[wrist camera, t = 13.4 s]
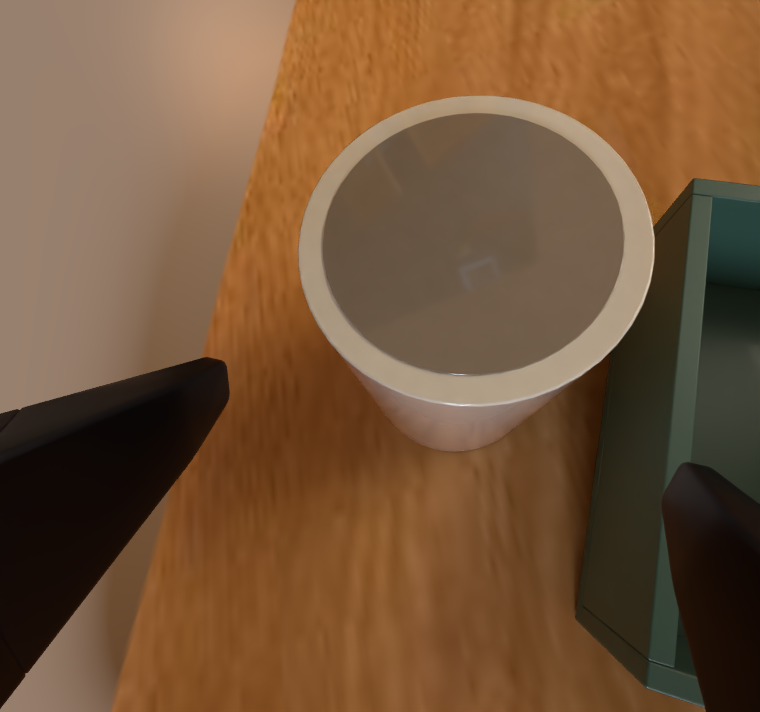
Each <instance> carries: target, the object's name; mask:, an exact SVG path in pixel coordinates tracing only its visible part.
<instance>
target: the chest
mask: <svg viewBox="0 0 760 712" xmlns="http://www.w3.org/2000/svg"><path fill="white" fill-rule="evenodd" d="M653 230H654V237H655V256H654V266H653V272H652V278H651V283H650V286H649V289H648V292H647V295H646V298H645V301H644V304H643V306H642V308H641V310H640V311H639V313H638V315H637V317H636V319H635V321H634V323H633V325H632V326H631V327H630V329H629V330H628V331H627V333H626V334H625V335H624V337H623V338H622V339H621V341H620V342H619V343H618V345H617V346H616V347H615V348H614V349H613V350H612V351H611V356H610V363H609V371H608V378H607V386H606V393H605V401H604V408H603V415H602V423H601V430H600V438H599V445H598V453H597V460H596V468H595V475H594V482H593V490H592V497H591V505H590V512H589V520H588V527H587V535H586V542H585V549H584V557H583V564H582V572H581V579H580V587H579V594H578V602H577V609H576V616H575V618H576V620H577V621H578V622H579V623H580V624H581V625H582V626H583V627H584V628H585V629H586V630H587V631H588V632H589V633H590V634H591V635H592V636H593V637H594V638H595V639H596V640H597V641H598V642H599V643H600V644H601V645H602V646H604V647H605V648H606V649H607V650H608V651H609V652H610V653H611V654H612V655H613V656H614V657H615V658H616V659H617V660H618V661H619V662H620V663H621V664H622V665H623V666H624V667H625V668H626V669H627V670H628V671H629V672H630V673H631V674H632V675H633V676H634V677H635V678H636V679H637V680H638V681H639V682H640V683H641V684H642V685H643V686H644V687H646V688H647V689H650V690H653V691H656V692H659V693H662V694H665V695H668V696H671V697H674V698H677V699H680V700H683V701H686V702H689V703H692V704H695V705H698V706H701V707H704V708H705V706H704V702H703V698H702V694H701V691H700V687H699V683H698V679H697V676H696V672H695V668H694V664H693V661H692V657H691V653H690V649H689V646H688V642H687V638H686V634H685V631H684V627H683V623H682V619H681V616H680V612H679V608H678V604H677V600H676V596H675V592H674V588H673V582H672V576H671V570H670V563H669V556H668V549H667V542H666V535H665V528H664V521H663V514H662V507H661V504H662V497H663V494H664V492H665V490H666V488H667V487H668V485H669V483H670V481H671V479H672V478H673V476H674V474H675V472H676V470H677V469H678V467H679V466H680V465H681V464H682V463H685V462H690V463H695V464H699V465H704V466H708V467H711V468H713V469H714V470H716V471H717V472H718V473H719V474H721V475H722V476H723V477H725V478H726V479H727V480H729V481H730V482H731V483H733V484H734V485H735V486H736V487H738V488H739V489H740V490H742V491H743V492H744V493H746V494H747V495H748V496H749V497H751V498H752V499H753V500H755V501H756V502H757V503H759V504H760V186H756V185H748V184H739V183H731V182H723V181H714V180H706V179H698V178H694V179H693V180H692V181H691V182H690V183H689V184H688V186H687V187H686V188H685V189H684V191H683V192H682V193H681V194H680V195H679V197H678V198H677V199H676V200H675V201H674V203H673V204H672V205H671V206H670V208H669V209H668V210H667V211H666V212H665V214H664V215H663V216H662V217H661V218H660V220H659V221H658V222H657V223H656V225H655V226H654V227H653Z"/></svg>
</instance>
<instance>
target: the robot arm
mask: <svg viewBox="0 0 760 712" xmlns="http://www.w3.org/2000/svg"><path fill="white" fill-rule="evenodd" d="M229 394H230V391H229V382H228V373H227V366H226V364H225V362H223V361H222V360H218V359H213V358H209V357H205V358H201V359H197V360H194V361H190V362H186V363H183V364H180V365H176V366H172V367H169V368H165V369H161V370H158V371H154V372H150V373H147V374H143V375H139V376H136V377H132V378H128V379H125V380H121V381H118V382H114V383H111V384H107V385H103V386H99V387H96V388H92V389H89V390H85V391H81V392H78V393H74V394H71V395H67V396H63V397H60V398H56V399H53V400H49V401H45V402H42V403H38V404H34V405H31V406H27V407H24V408H22V409H21V410H18V409H16V410H12V411H9V412H5V413H1V414H0V709H1V707H2V706H3V704H4V703H5V702H6V701H7V699H8V698H9V697H10V696H11V694H12V693H13V691H14V690H15V689H16V688H17V687H18V685H19V684H20V683H21V681H22V680H23V679H24V677H25V673H28V672H29V671H30V669H31V668H32V666H33V665H34V664H35V663H36V661H37V660H38V659H39V657H40V656H41V655H42V654H43V652H44V651H45V650H46V648H47V647H48V646H49V644H50V643H51V642H52V641H53V639H54V638H55V637H56V635H57V634H58V633H59V632H60V630H61V629H62V628H63V626H64V625H65V624H66V623H67V621H68V620H69V619H70V617H71V616H72V615H73V614H74V612H75V611H76V610H77V608H78V607H79V606H80V604H81V603H82V602H83V600H84V599H85V598H86V597H87V595H88V594H89V593H90V591H91V590H92V589H93V587H94V586H95V585H96V584H97V582H98V581H99V580H100V579H101V577H102V576H103V575H104V573H105V572H106V571H107V569H108V568H109V567H110V566H111V564H112V563H113V562H114V560H115V559H116V558H117V556H118V555H119V554H120V553H121V551H122V550H123V548H124V547H125V546H126V545H127V543H128V542H129V541H130V540H131V538H132V537H133V536H134V534H135V533H136V532H137V531H138V529H139V528H140V527H141V525H142V524H143V523H144V521H145V520H146V519H147V518H148V516H149V515H150V514H151V512H152V511H153V510H154V509H155V507H156V506H157V505H158V503H159V502H160V501H161V499H162V498H163V497H164V496H165V494H166V493H167V492H168V490H169V489H170V488H171V487H172V485H173V484H174V483H175V481H176V480H177V479H178V478H179V476H180V475H181V474H182V472H183V471H184V470H185V468H186V467H187V466H188V464H189V463H190V462H191V460H192V459H193V457H194V456H195V454H196V453H197V451H198V450H199V448H200V447H201V445H202V443H203V442H204V440H205V439H206V437H207V435H208V434H209V432H210V430H211V429H212V427H213V426H214V424H215V422H216V421H217V419H218V417H219V416H220V414H221V413H222V411H223V409H224V408H225V406H226V404H227V402H228V400H229ZM661 507H662V514H663V521H664V528H665V535H666V542H667V549H668V556H669V563H670V570H671V576H672V582H673V588H674V592H675V596H676V600H677V604H678V608H679V612H680V616H681V619H682V623H683V627H684V631H685V634H686V638H687V642H688V646H689V649H690V653H691V657H692V661H693V664H694V668H695V672H696V676H697V679H698V683H699V687H700V691H701V694H702V698H703V702H704V706H705V709H706V712H760V504H759V503H757V502H756V501H755V500H753V499H752V498H751V497H749V496H748V495H747V494H746V493H744V492H743V491H742V490H740V489H739V488H738V487H736V486H735V485H734V484H733V483H731V482H730V481H729V480H727V479H726V478H725V477H723V476H722V475H721V474H719V473H718V472H717V471H716V470H714V469H713V468H711V467H708V466H704V465H699V464H695V463H690V462H685V463H682V464H681V465H680V466H679V467H678V469H677V470H676V472H675V474H674V476H673V478H672V479H671V481H670V483H669V485H668V487H667V488H666V490H665V492H664V494H663V497H662V504H661Z"/></svg>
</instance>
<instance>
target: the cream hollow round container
mask: <svg viewBox="0 0 760 712" xmlns="http://www.w3.org/2000/svg"><path fill="white" fill-rule="evenodd" d="M654 256H655V237H654V230H653V223H652V217H651V214H650V210H649V207H648V204H647V201H646V198H645V195H644V193H643V191H642V189H641V187H640V185H639V183H638V181H637V179H636V177H635V176H634V174H633V173H632V171H631V170H630V168H629V167H628V166H627V164H626V163H625V161H624V160H623V159H622V158H621V157H620V156H619V154H618V153H617V152H616V151H615V150H614V149H613V148H612V147H611V146H610V145H609V144H608V143H607V142H606V141H605V140H603V139H602V138H601V137H600V136H599V135H597V134H596V133H595V132H594V131H592V130H591V129H589V128H588V127H586V126H585V125H583V124H582V123H580V122H579V121H577V120H575V119H573V118H571V117H569V116H567V115H565V114H563V113H561V112H559V111H557V110H554V109H551V108H548V107H546V106H543V105H540V104H537V103H533V102H529V101H525V100H521V99H516V98H509V97H503V96H483V95H473V96H459V97H451V98H445V99H439V100H434V101H430V102H427V103H423V104H420V105H416V106H413V107H411V108H408V109H406V110H403V111H401V112H398V113H396V114H394V115H392V116H390V117H388V118H386V119H384V120H382V121H380V122H379V123H377V124H375V125H374V126H372V127H371V128H369V129H368V130H366V131H365V132H364V133H362V134H361V135H360V136H358V137H357V138H356V139H355V140H354V141H352V142H351V143H350V144H349V145H348V146H346V148H345V149H344V150H343V151H342V152H341V153H340V154H339V155H338V156H337V157H336V158H335V159H334V160H333V161H332V163H331V164H330V166H329V167H328V168H327V170H326V171H325V172H324V174H323V175H322V176H321V178H320V180H319V182H318V184H317V185H316V187H315V189H314V191H313V192H312V195H311V197H310V200H309V202H308V205H307V207H306V210H305V213H304V217H303V221H302V225H301V229H300V236H299V245H298V263H299V273H300V279H301V284H302V289H303V292H304V295H305V298H306V301H307V304H308V307H309V309H310V311H311V313H312V315H313V317H314V319H315V321H316V323H317V325H318V327H319V328H320V329H321V331H322V332H323V334H324V335H325V337H326V338H327V339H328V341H329V342H330V344H331V345H332V346H333V348H334V349H335V350H336V351H337V353H338V354H339V355H340V357H341V358H342V359H343V361H344V362H345V363H346V365H347V366H348V367H349V368H350V370H351V371H352V372H353V374H354V375H355V376H356V378H357V379H358V380H359V382H360V383H361V384H362V385H363V387H364V388H365V389H366V391H367V392H368V393H369V395H370V396H371V397H372V398H373V400H374V401H375V402H376V404H377V405H378V406H379V408H380V409H381V410H382V412H383V413H384V414H385V415H386V417H387V418H388V419H389V421H390V422H391V423H392V424H393V425H394V426H395V427H396V428H397V429H398V430H399V431H400V432H402V433H403V434H404V435H405V436H407V437H409V438H410V439H412V440H413V441H415V442H417V443H419V444H422V445H424V446H427V447H430V448H433V449H437V450H443V451H469V450H473V449H478V448H481V447H484V446H487V445H489V444H492V443H493V442H495V441H497V440H499V439H501V438H502V437H504V436H505V435H506V434H508V433H509V432H510V431H512V430H513V429H514V428H515V427H517V426H518V425H519V424H521V423H522V422H523V421H524V420H526V419H527V418H528V417H530V416H531V415H532V414H533V413H535V412H536V411H537V410H539V409H540V408H541V407H542V406H544V405H545V404H546V403H548V402H549V401H550V400H551V399H553V398H554V397H555V396H557V395H558V394H559V393H560V392H562V391H563V390H564V389H566V388H567V387H568V386H569V385H571V384H572V383H573V382H575V381H576V380H577V379H579V378H580V377H581V376H582V375H584V374H585V373H586V372H588V371H589V370H590V369H591V368H593V367H594V366H595V365H597V364H598V363H599V362H600V361H601V360H602V359H603V358H604V357H605V356H606V355H607V354H608V353H609V352H611V351H612V350H613V349H614V348H615V347H616V346H617V345H618V343H619V342H620V341H621V339H622V338H623V337H624V335H625V334H626V333H627V331H628V330H629V329H630V327H631V326H632V325H633V323H634V321H635V319H636V317H637V315H638V313H639V311H640V310H641V308H642V306H643V304H644V301H645V298H646V295H647V292H648V289H649V286H650V283H651V278H652V272H653V266H654Z"/></svg>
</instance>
